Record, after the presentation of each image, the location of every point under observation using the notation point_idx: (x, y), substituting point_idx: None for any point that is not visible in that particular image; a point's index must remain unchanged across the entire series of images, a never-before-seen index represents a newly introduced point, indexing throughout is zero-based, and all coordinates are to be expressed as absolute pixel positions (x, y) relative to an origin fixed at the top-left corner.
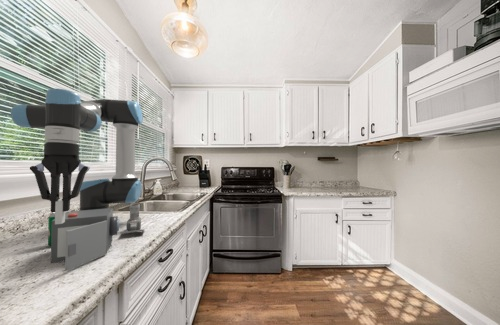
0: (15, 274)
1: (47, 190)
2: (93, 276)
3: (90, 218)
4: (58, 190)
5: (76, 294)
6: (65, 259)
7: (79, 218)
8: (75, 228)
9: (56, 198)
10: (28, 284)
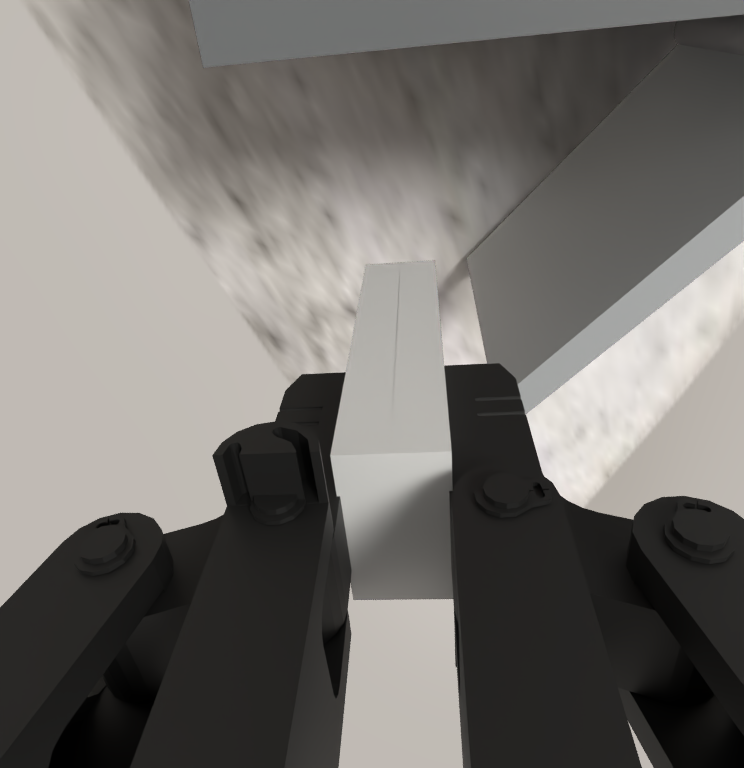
0: (179, 155)
1: (32, 743)
2: (622, 370)
3: (729, 14)
4: (306, 744)
5: (570, 488)
6: (472, 286)
7: (568, 28)
8: (562, 348)
9: (348, 628)
10: (336, 326)
